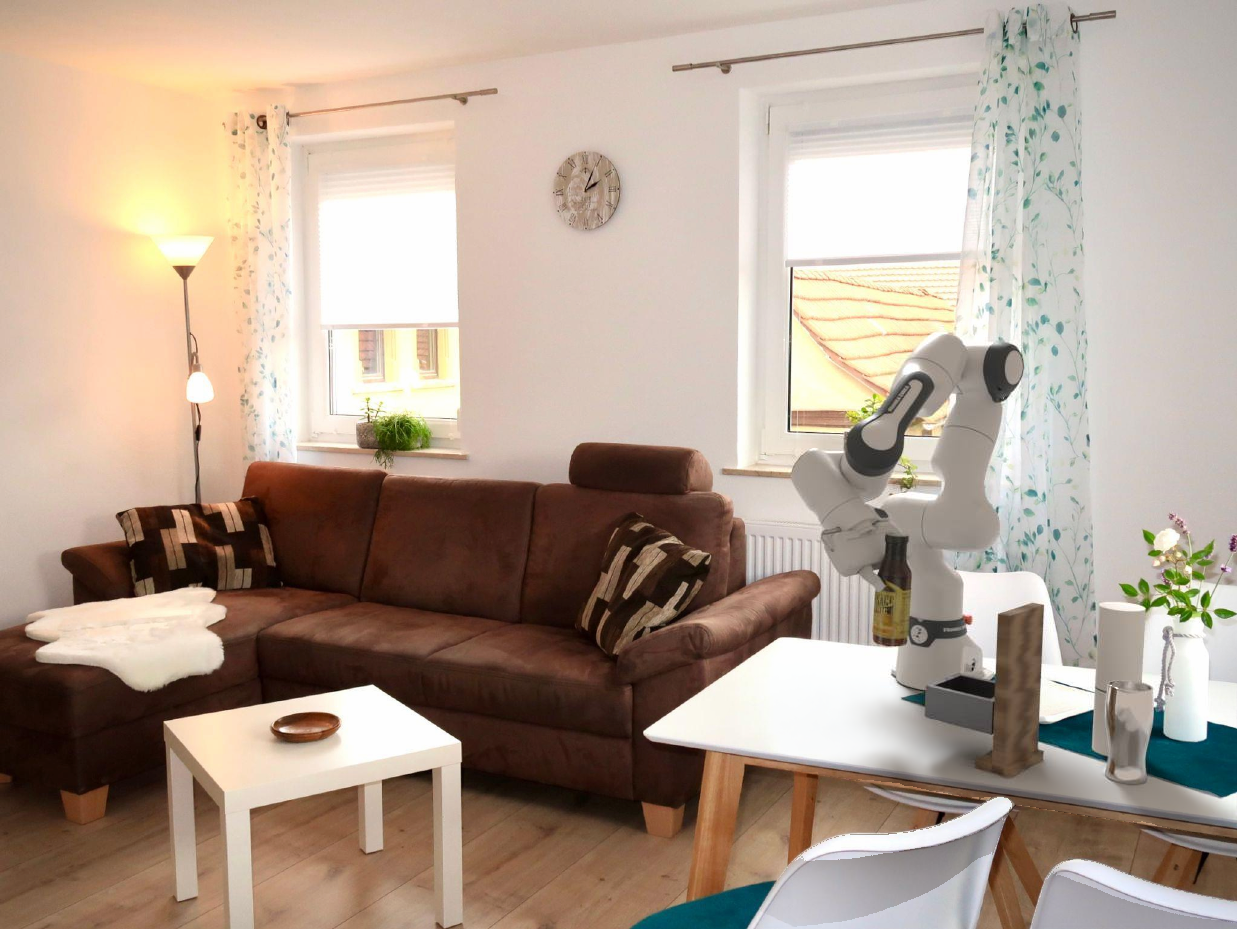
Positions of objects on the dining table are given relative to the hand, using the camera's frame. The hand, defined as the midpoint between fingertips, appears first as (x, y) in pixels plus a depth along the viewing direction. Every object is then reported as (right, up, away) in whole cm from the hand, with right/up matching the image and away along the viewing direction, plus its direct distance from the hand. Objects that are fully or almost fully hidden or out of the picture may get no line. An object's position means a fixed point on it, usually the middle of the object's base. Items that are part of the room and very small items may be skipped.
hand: (895, 586), depth 190 cm
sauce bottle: (-1, -11, +1) cm, 11 cm away
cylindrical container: (+35, -27, -7) cm, 45 cm away
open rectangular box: (+11, -21, -10) cm, 26 cm away
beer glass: (+32, -28, -19) cm, 47 cm away
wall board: (+15, -28, -13) cm, 34 cm away
